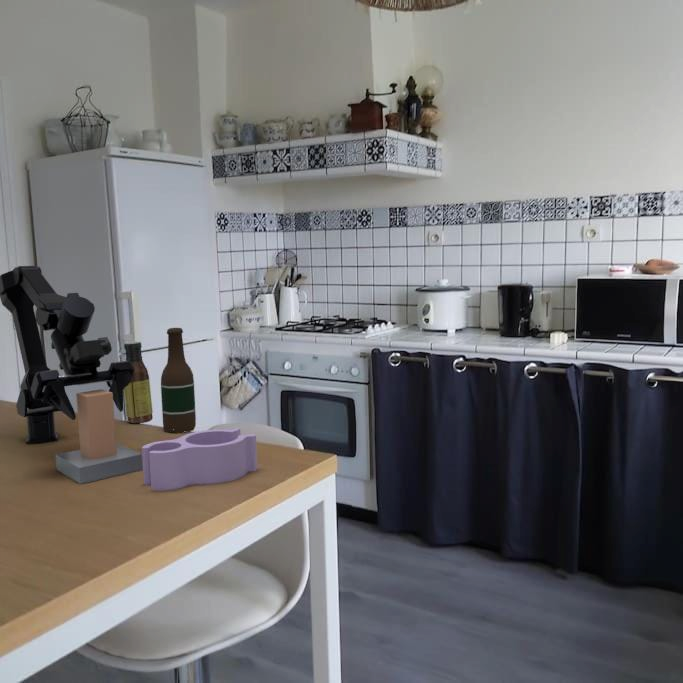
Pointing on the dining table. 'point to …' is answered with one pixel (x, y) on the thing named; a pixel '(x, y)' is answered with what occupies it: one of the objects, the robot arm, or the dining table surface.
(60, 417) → the dining table surface
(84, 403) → the tan block
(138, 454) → the plate
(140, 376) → the sauce bottle
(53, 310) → the robot arm
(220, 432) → the clip
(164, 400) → the beer bottle
